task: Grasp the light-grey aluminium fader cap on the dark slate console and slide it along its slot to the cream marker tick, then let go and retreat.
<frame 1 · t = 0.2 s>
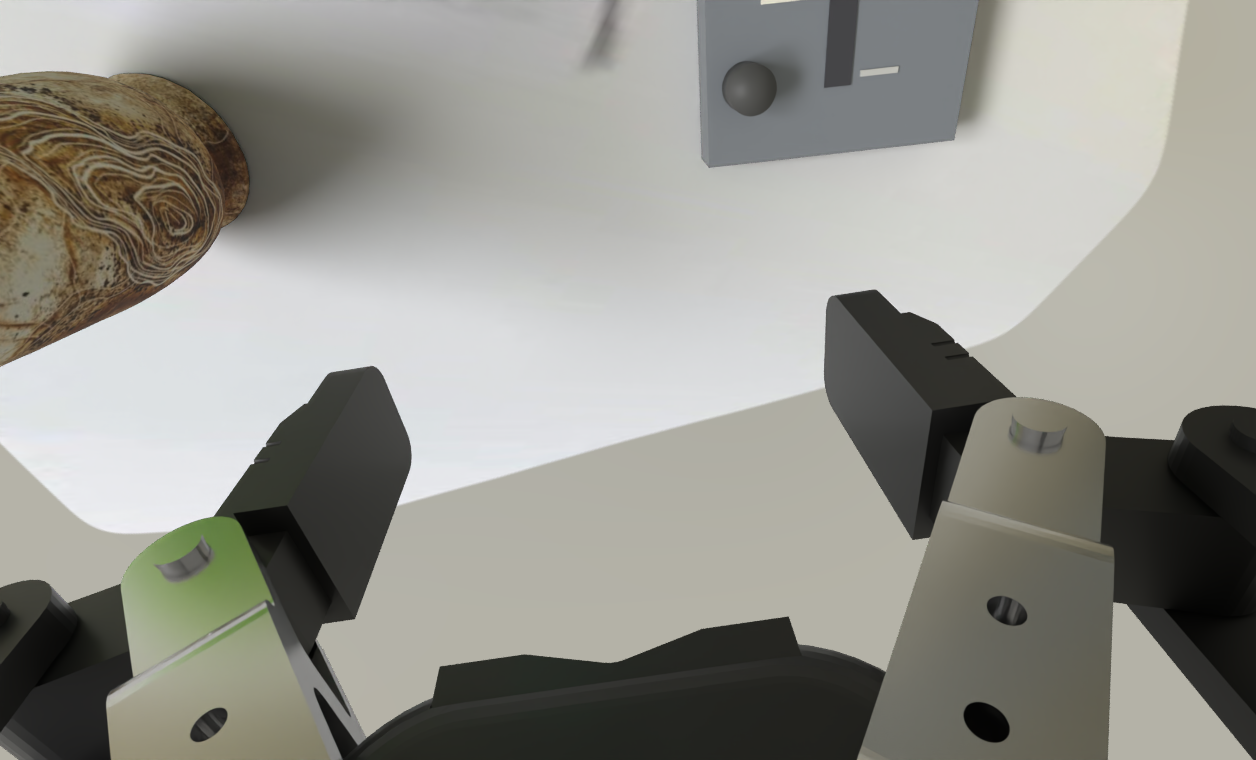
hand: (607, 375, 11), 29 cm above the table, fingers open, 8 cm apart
vase: (165, 163, 35), on the table
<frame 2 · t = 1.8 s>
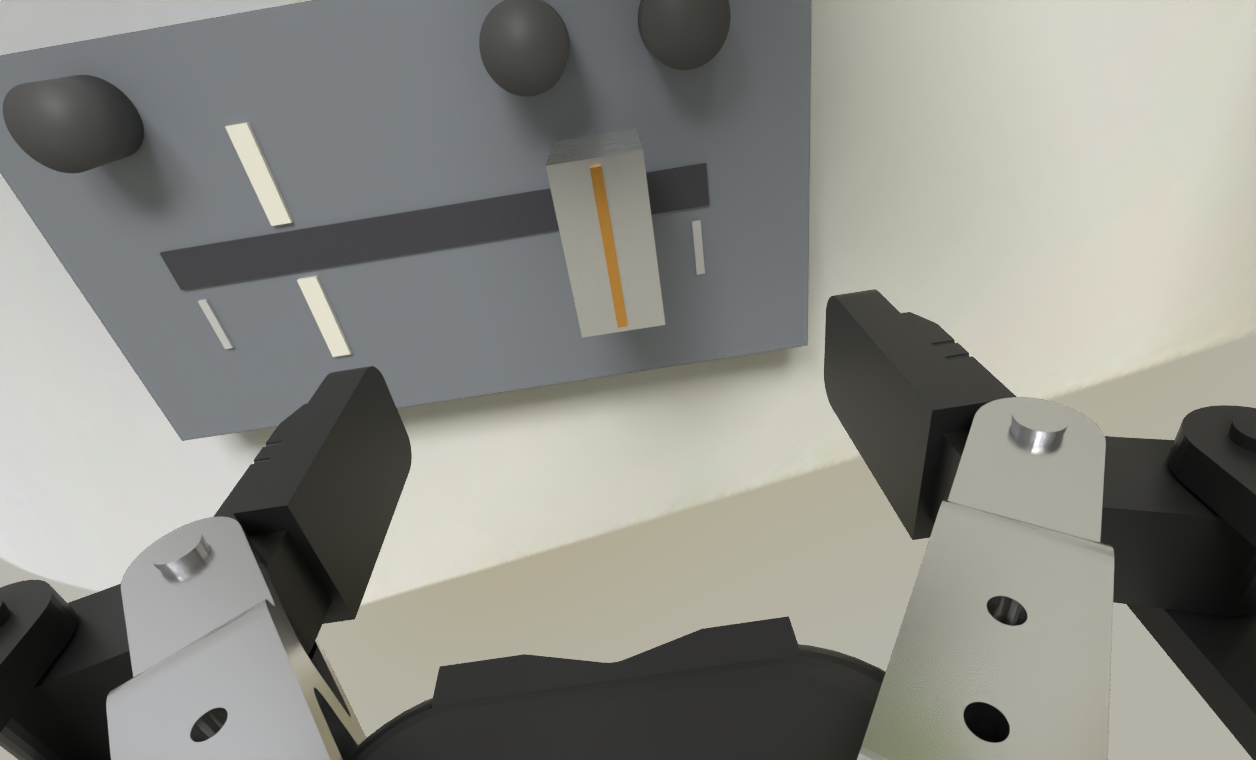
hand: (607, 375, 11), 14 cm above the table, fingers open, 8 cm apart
console: (449, 207, 23), on the table
fader: (608, 225, 19), point 5 cm above the table, slide at -6.0 cm
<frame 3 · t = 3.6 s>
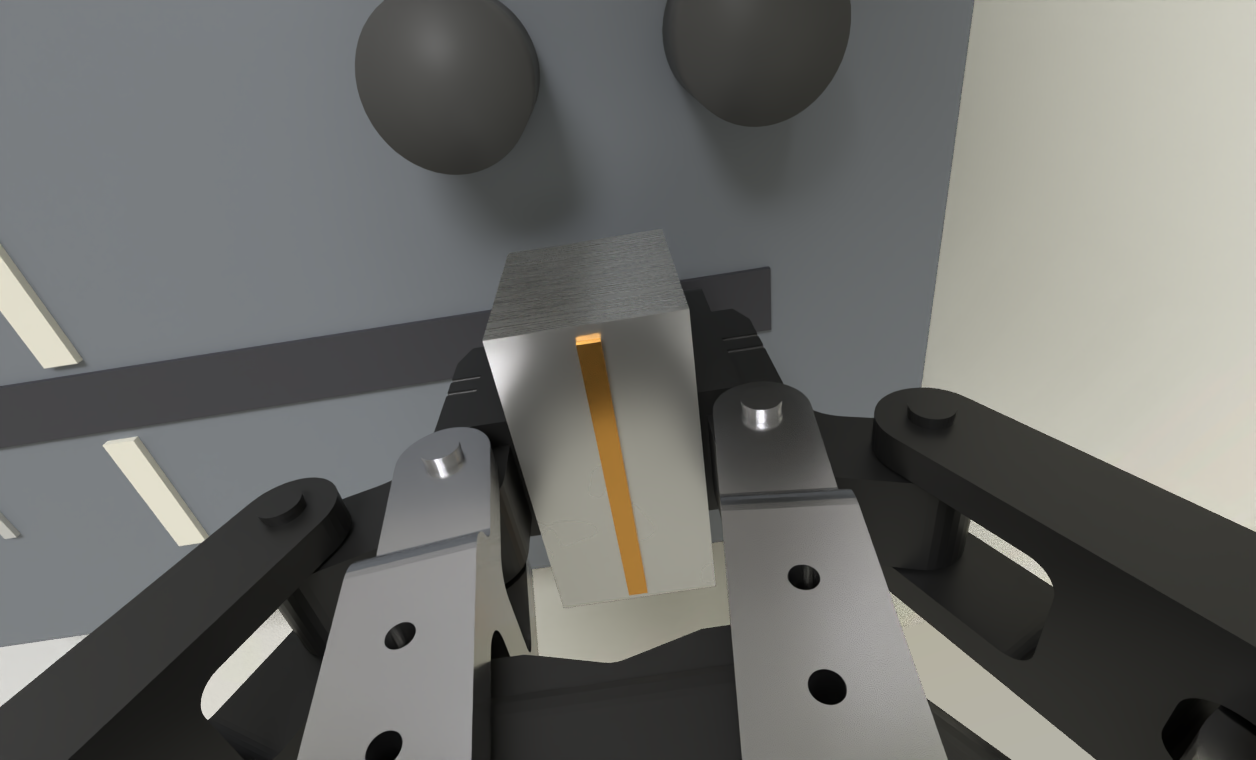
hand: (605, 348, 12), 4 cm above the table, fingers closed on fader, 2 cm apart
console: (360, 315, 15), on the table
fader: (610, 394, 11), point 5 cm above the table, slide at -6.0 cm, touching gripper
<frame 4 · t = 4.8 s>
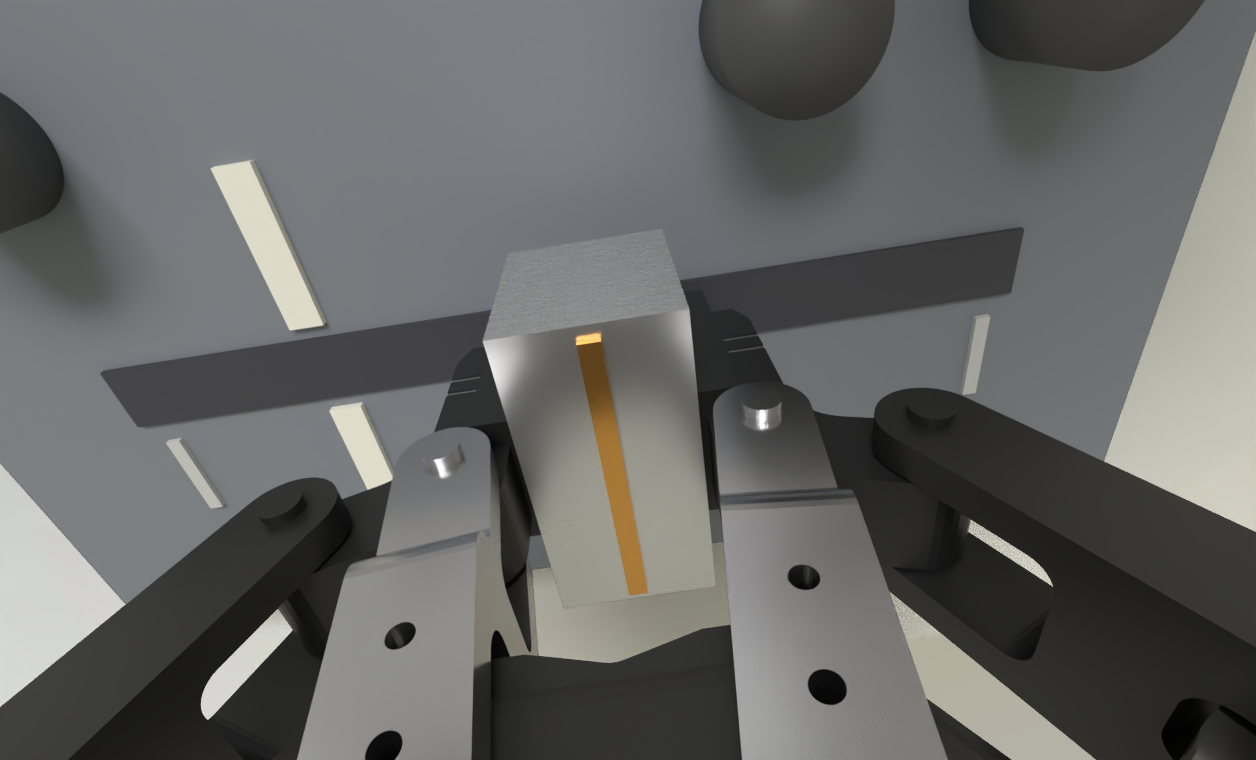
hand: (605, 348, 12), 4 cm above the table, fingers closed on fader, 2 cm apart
console: (564, 283, 15), on the table
fader: (610, 394, 11), point 5 cm above the table, slide at -0.9 cm, touching gripper
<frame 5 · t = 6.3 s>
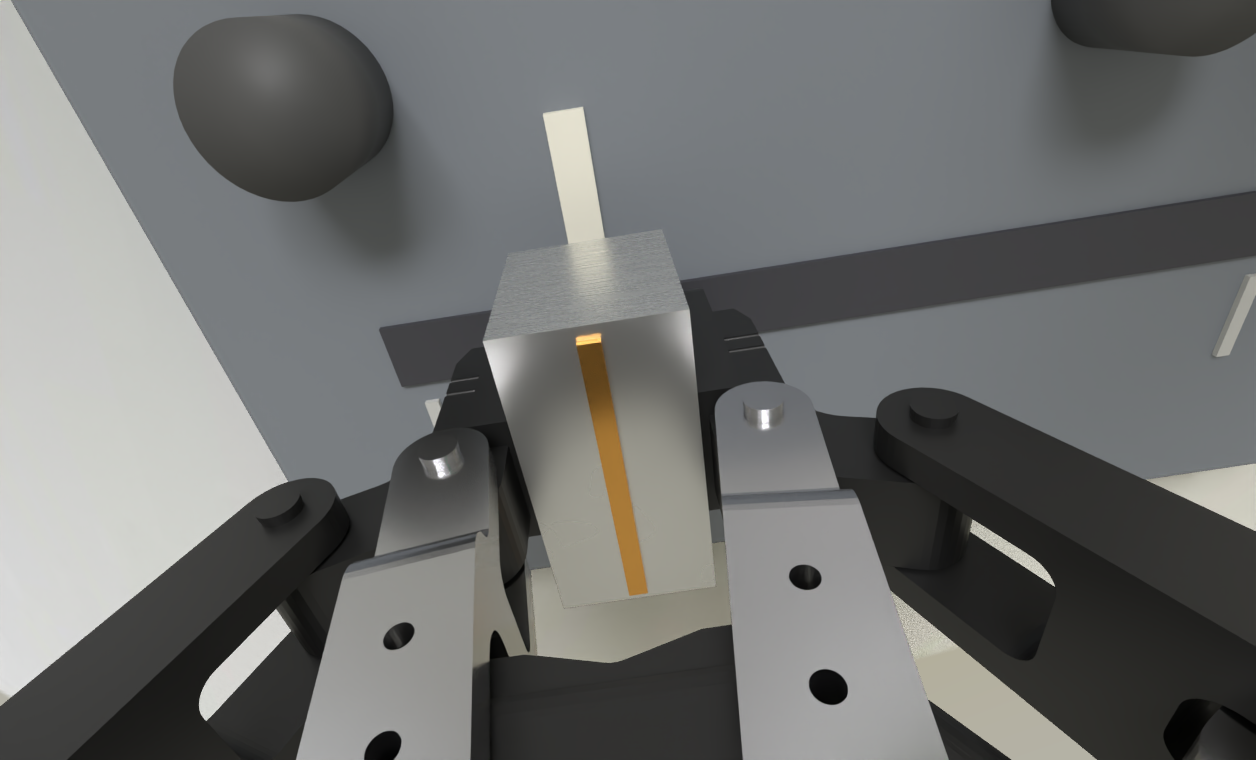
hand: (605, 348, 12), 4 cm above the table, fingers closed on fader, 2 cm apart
console: (802, 246, 15), on the table
fader: (610, 394, 11), point 5 cm above the table, slide at 4.9 cm, touching gripper
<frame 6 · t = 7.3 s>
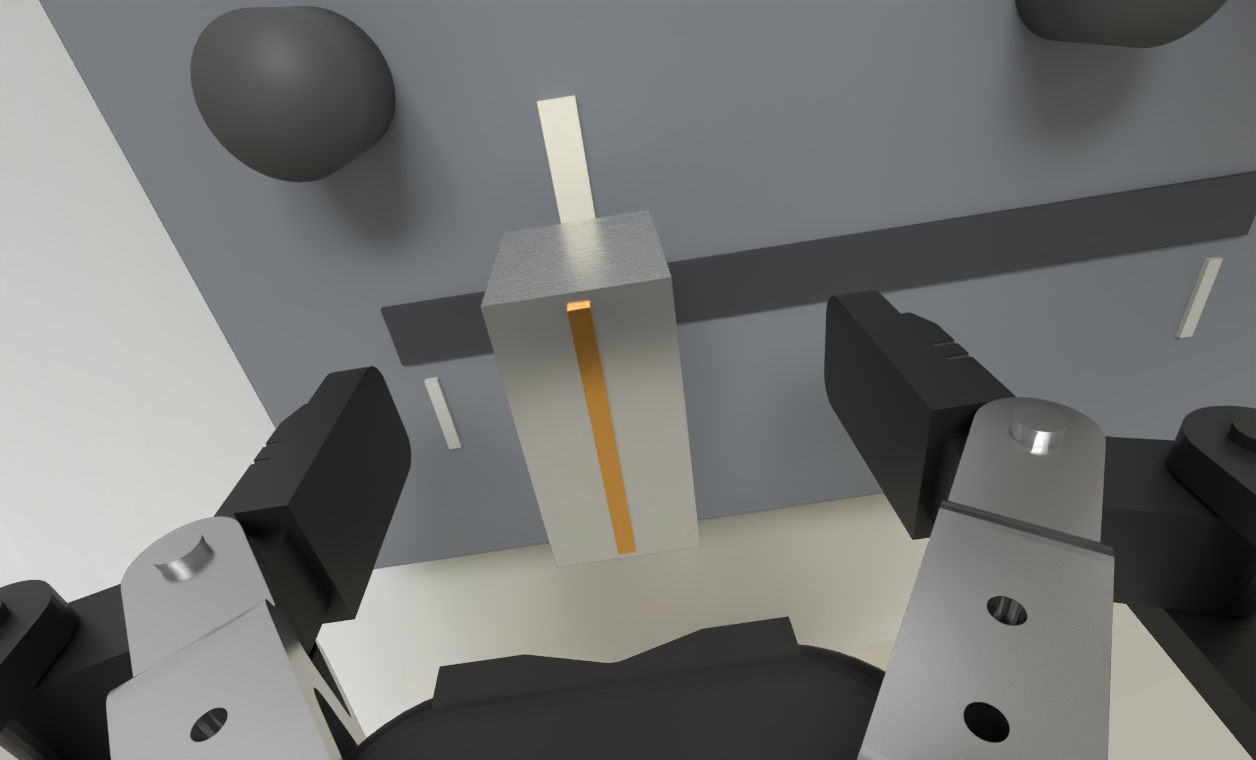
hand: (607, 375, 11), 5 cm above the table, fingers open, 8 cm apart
console: (786, 232, 16), on the table
fader: (601, 367, 11), point 5 cm above the table, slide at 4.9 cm
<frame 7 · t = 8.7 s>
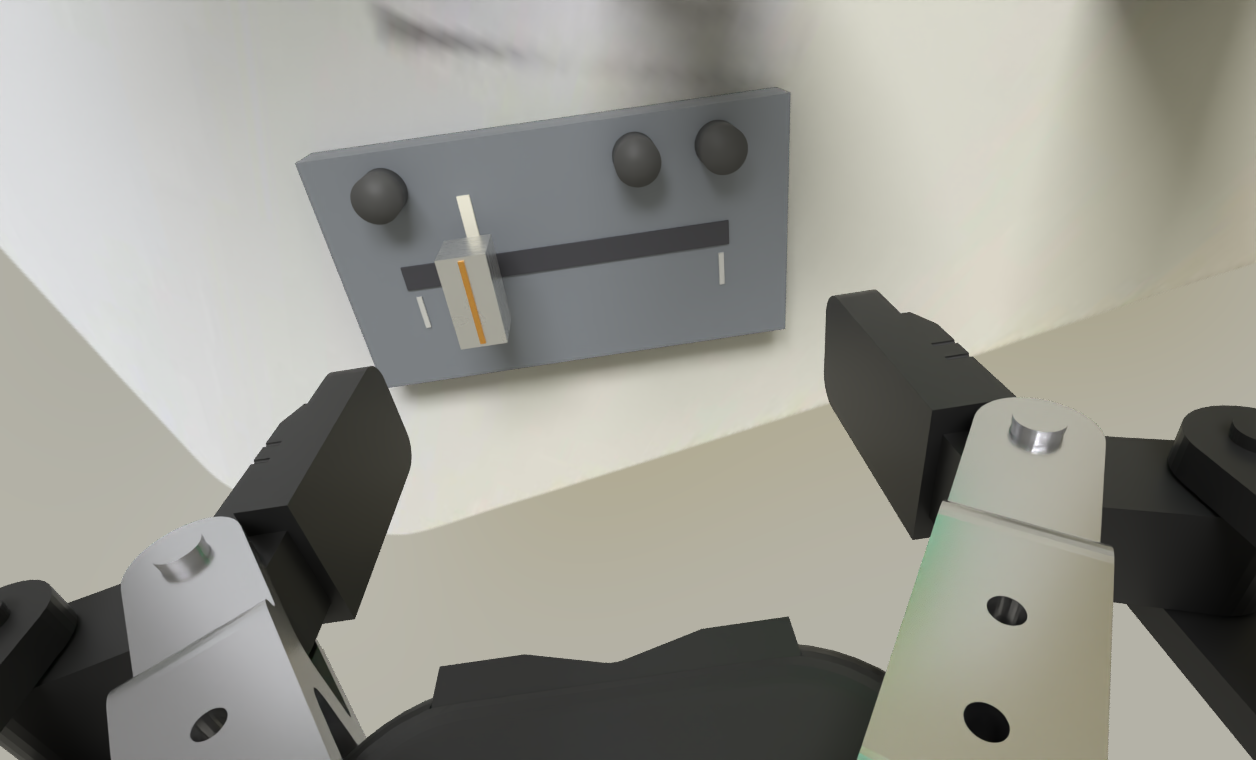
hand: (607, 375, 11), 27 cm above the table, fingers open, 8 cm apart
console: (566, 240, 38), on the table
fader: (477, 286, 33), point 5 cm above the table, slide at 4.9 cm
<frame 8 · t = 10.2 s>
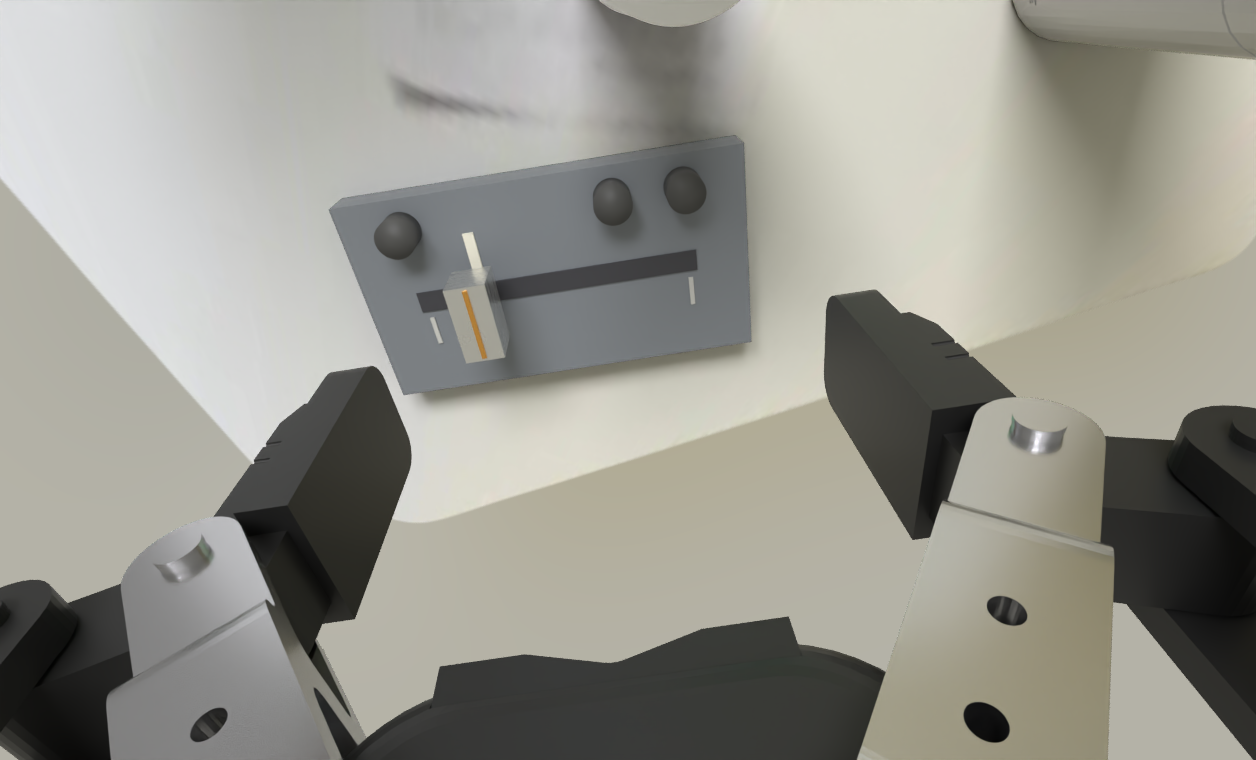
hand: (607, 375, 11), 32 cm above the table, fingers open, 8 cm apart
console: (558, 267, 44), on the table
fader: (480, 309, 39), point 5 cm above the table, slide at 4.9 cm
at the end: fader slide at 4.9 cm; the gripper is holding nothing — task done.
